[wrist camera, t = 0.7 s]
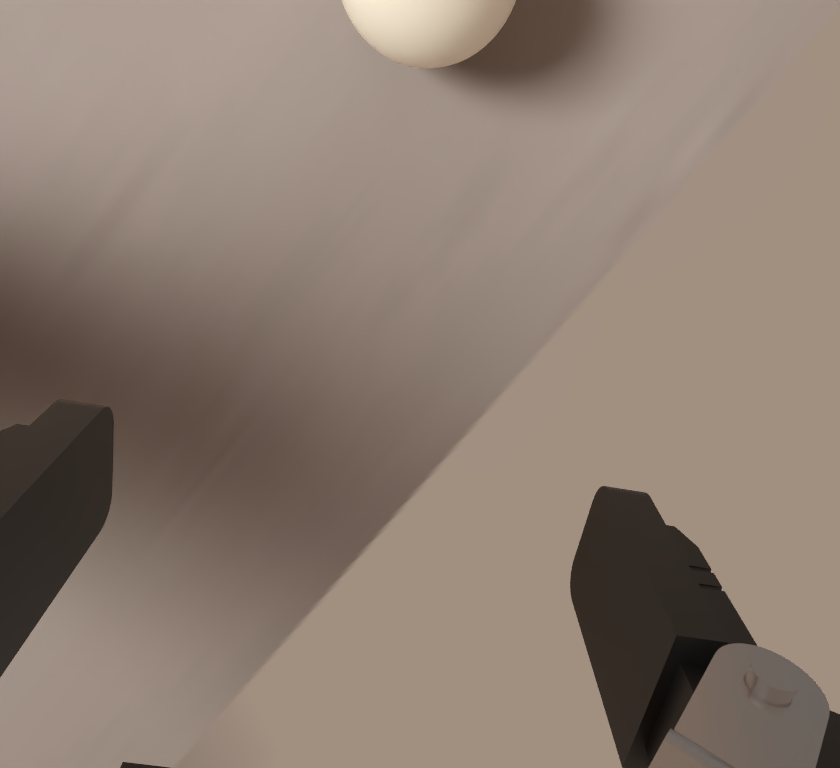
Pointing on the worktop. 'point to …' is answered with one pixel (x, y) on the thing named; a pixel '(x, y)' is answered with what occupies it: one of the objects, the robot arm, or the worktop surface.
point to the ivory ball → (428, 28)
